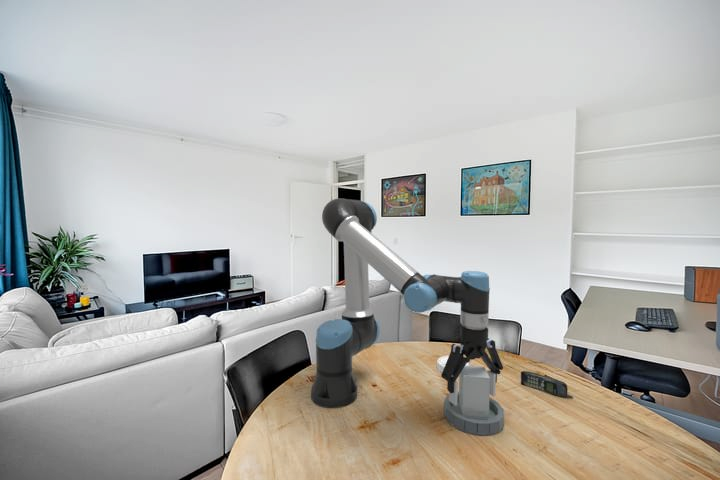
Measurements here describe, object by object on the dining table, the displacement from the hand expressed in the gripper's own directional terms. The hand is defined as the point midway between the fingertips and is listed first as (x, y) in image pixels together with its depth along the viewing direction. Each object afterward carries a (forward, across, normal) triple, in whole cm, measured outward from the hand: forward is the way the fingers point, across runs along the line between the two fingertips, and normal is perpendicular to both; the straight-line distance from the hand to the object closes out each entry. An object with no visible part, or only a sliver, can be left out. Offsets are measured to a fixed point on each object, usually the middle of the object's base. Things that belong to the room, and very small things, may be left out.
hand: (472, 398), depth 89 cm
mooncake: (+6, +14, +27) cm, 31 cm away
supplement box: (+5, 0, 0) cm, 5 cm away
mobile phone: (+6, +33, +2) cm, 34 cm away
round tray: (+5, 0, 0) cm, 6 cm away
